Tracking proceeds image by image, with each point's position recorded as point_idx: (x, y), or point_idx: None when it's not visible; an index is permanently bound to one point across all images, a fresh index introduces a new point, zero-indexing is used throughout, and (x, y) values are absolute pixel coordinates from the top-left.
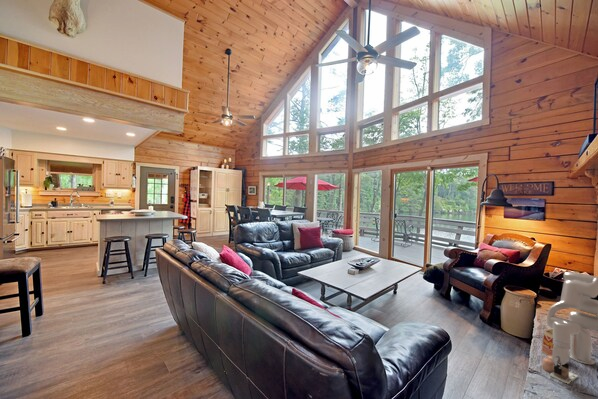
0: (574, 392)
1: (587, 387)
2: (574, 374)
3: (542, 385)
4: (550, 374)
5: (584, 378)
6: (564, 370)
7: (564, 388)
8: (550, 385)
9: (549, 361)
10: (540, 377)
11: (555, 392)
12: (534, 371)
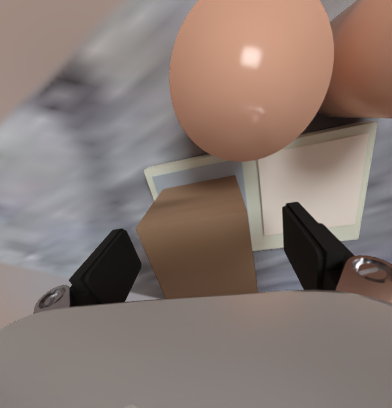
0: (136, 288)
1: (259, 290)
2: (353, 225)
3: (3, 218)
4: (146, 173)
5: (377, 249)
6: (179, 293)
7: None
8: (54, 230)
9: (226, 118)
10: (52, 163)
11: (35, 265)
12: (65, 87)
